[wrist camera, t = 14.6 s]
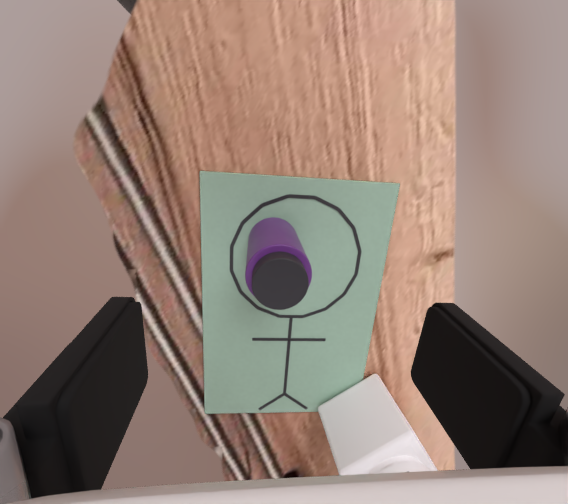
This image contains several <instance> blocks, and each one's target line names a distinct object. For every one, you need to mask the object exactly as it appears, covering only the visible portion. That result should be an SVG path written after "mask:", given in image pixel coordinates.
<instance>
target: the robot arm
mask: <svg viewBox="0 0 568 504" xmlns="http://www.w3.org/2000/svg"><path fill="white" fill-rule="evenodd" d="M411 377H412V380H413V382H414V384H415V385H416V387H417V388H418V390H419V391H420V393H421V394H422V396H423V398H424V399H425V401H426V402H427V404H428V405H429V407H430V408H431V410H432V411H433V413H434V414H435V416H436V417H437V419H438V420H439V422H440V423H441V425H442V426H443V428H444V430H445V431H446V433H447V434H448V436H449V437H450V439H451V440H452V442H453V443H454V445H455V446H456V448H457V449H458V450H459V452H460V454H461V455H462V457H463V458H464V460H465V461H466V463H467V465H468V466H469V468H470V469H468V470H467V469H466V470H443V471H420V472H399V473H378V474H357V475H337V476H317V477H297V478H279V479H260V480H242V481H224V482H206V483H188V484H171V485H158V486H144V487H132V488H117V489H103V490H101V488H102V486H103V483H104V481H105V479H106V476H107V474H108V472H109V469H110V467H111V465H112V462H113V460H114V458H115V455H116V453H117V451H118V449H119V446H120V444H121V442H122V439H123V437H124V435H125V433H126V430H127V428H128V426H129V423H130V421H131V419H132V416H133V414H134V412H135V409H136V407H137V405H138V403H139V400H140V398H141V396H142V393H143V391H144V389H145V386H146V384H147V379H148V369H147V359H146V348H145V338H144V328H143V318H142V308H141V304H140V302H135V299H134V298H133V297H112V298H110V300H109V301H108V302H107V303H106V304H105V305H104V306H103V307H102V309H101V310H100V311H99V312H98V313H97V314H96V315H95V316H94V318H93V319H92V320H91V321H90V322H89V323H88V324H87V325H86V326H85V328H84V329H83V330H82V331H81V332H80V333H79V335H77V337H76V338H75V339H74V340H73V341H72V342H71V343H70V344H69V345H68V346H67V347H66V348H65V349H64V350H63V351H62V352H61V354H60V355H59V356H58V357H57V358H56V359H55V360H54V361H53V362H52V364H51V365H50V366H49V367H48V368H47V369H46V370H45V371H44V372H43V374H42V375H41V376H40V377H39V378H38V379H37V380H36V381H35V382H34V384H33V385H32V386H31V387H30V388H29V389H28V390H27V391H26V393H25V394H24V395H23V396H22V397H21V398H20V399H19V400H18V402H17V403H16V404H15V405H14V406H13V407H12V408H11V409H10V410H9V412H8V413H7V414H6V415H5V416H4V417H3V418H0V504H568V408H567V410H566V411H565V410H564V409H563V408H562V407H561V406H559V405H560V403H561V401H562V399H563V397H564V393H562V392H561V391H560V390H559V389H558V388H556V387H555V386H554V385H553V384H551V383H550V382H549V381H548V380H547V379H545V378H544V377H543V376H542V375H540V374H539V373H538V372H537V371H536V370H534V369H533V368H532V367H531V366H529V365H528V364H527V363H526V362H525V361H523V360H522V359H521V358H520V357H519V356H517V355H516V354H515V353H514V352H513V351H511V350H510V349H509V348H508V347H506V346H505V345H504V344H503V343H501V342H500V341H499V340H498V339H497V338H495V337H494V336H493V335H492V334H490V333H489V332H488V331H487V330H486V329H485V328H483V327H482V326H481V325H480V324H478V323H477V322H476V321H475V320H473V319H472V318H471V317H470V316H469V315H468V314H466V313H465V312H464V311H463V310H462V309H460V308H459V307H458V306H457V305H455V304H454V303H435V304H433V305H432V307H430V308H429V309H428V310H427V313H426V317H425V321H424V324H423V328H422V332H421V336H420V339H419V343H418V347H417V350H416V354H415V358H414V362H413V365H412V369H411Z"/></svg>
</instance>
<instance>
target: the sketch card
mask: <svg viewBox="0 0 568 504" xmlns="http://www.w3.org/2000/svg"><path fill="white" fill-rule="evenodd" d="M399 187H400V184H399V183H388V182H372V181H356V180H340V179H324V178H308V177H292V176H276V175H260V174H244V173H228V172H212V171H200V215H201V262H202V309H203V356H204V403H205V414H213V413H271V412H319V411H318V407H319V406H320V405H322V404H323V403H325V402H327V401H328V400H330V399H332V398H334V397H335V396H337V395H339V394H340V393H342V392H344V391H345V390H347V389H349V388H350V387H352V386H354V385H355V384H357V383H359V382H361V381H362V380H363V376H364V371H365V366H366V360H367V355H368V350H369V345H370V339H371V334H372V329H373V324H374V318H375V313H376V308H377V302H378V297H379V292H380V287H381V281H382V276H383V271H384V266H385V260H386V255H387V250H388V245H389V239H390V234H391V229H392V223H393V218H394V213H395V208H396V202H397V197H398V192H399ZM271 217H276V218H281V219H283V220H285V221H287V222H289V223H290V224H291V225H292V226H293V228H294V229H295V231H296V233H297V235H298V238H299V240H300V242H301V244H302V246H303V249H304V251H305V253H306V255H307V258H308V260H309V262H310V265H311V268H312V279H311V283H310V285H309V287H308V290H307V293H306V295H305V296H304V298H303V299H302V300H301V301H300V302H299V303H298V304H297V305H295V306H293V307H291V308H288V309H284V310H274V309H270V308H268V307H265V306H264V305H262V304H261V303H260V302H259V301H258V300H257V299H256V298H255V297H254V296H253V295H252V293H251V292H250V291H249V289H248V287H247V284H246V280H245V271H246V260H247V248H248V238H249V234H250V231H251V230H252V228H253V227H254V226H255V225H256V224H257V223H258V222H259V221H261V220H263V219H266V218H271Z"/></svg>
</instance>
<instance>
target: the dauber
mask: <svg viewBox="0 0 568 504" xmlns="http://www.w3.org/2000/svg"><path fill="white" fill-rule="evenodd" d="M311 279H312V268H311V265H310V262H309V260H308V258H307V255H306V253H305V251H304V249H303V246H302V244H301V242H300V240H299V238H298V235H297V233H296V231H295V229H294V228H293V226H292V225H291V224H290V223H289V222H287V221H285V220H283V219H281V218H276V217H271V218H266V219H263V220H261V221H259V222H258V223H257V224H256V225H255V226H254V227H253V228H252V230H251V231H250V234H249V238H248V248H247V260H246V271H245V280H246V284H247V287H248V289H249V291H250V292H251V293H252V295H253V296H254V297H255V298H256V299H257V300H258V301H259V302H260V303H261V304H262V305H264V306H265V307H268V308H270V309H274V310H284V309H288V308H291V307H293V306H295V305H297V304H298V303H299V302H300V301H301V300H302V299H303V298H304V296H305V295H306V293H307V290H308V287H309V285H310V283H311Z"/></svg>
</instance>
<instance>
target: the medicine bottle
mask: <svg viewBox="0 0 568 504" xmlns="http://www.w3.org/2000/svg"><path fill="white" fill-rule="evenodd" d="M318 411H319V414H320V417H321V420H322V423H323V426H324V430H325V433H326V436H327V439H328V442H329V445H330V448H331V451H332V454H333V457H334V460H335V463H336V466H337V469H338V472H339V475H357V474H378V473H399V472H420V471H438V470H437V468H436V467H435V465H434V463H433V462H432V460H431V458H430V457H429V455H428V454H427V452H426V450H425V449H424V447H423V445H422V444H421V442H420V440H419V439H418V437H417V436H416V434H415V432H414V431H413V429H412V428H411V426H410V424H409V423H408V421H407V420H406V418H405V416H404V415H403V413H402V412H401V410H400V409H399V407H398V405H397V404H396V402H395V401H394V399H393V398H392V396H391V394H390V393H389V391H388V390H387V388H386V387H385V385H384V383H383V382H382V380H381V379H380V377H379V375H377V374H372V375H371V376H369V377H367V378H366V379H364V380H362V381H361V382H359V383H357V384H355V385H354V386H352V387H350V388H349V389H347V390H345V391H344V392H342V393H340V394H339V395H337V396H335V397H334V398H332V399H330V400H328V401H327V402H325V403H323V404H322V405H320V406H319V407H318Z"/></svg>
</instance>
